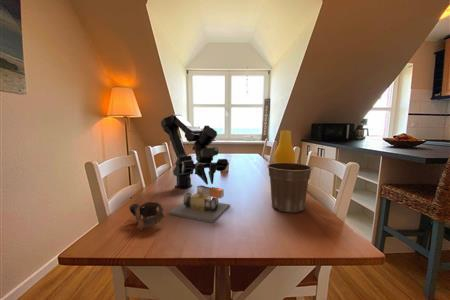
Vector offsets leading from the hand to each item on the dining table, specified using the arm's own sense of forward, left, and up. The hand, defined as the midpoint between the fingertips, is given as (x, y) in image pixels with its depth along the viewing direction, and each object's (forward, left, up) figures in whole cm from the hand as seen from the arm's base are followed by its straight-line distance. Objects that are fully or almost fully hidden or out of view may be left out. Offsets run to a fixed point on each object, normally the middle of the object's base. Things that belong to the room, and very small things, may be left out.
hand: (209, 183), depth 82 cm
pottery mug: (-9, -23, -9) cm, 26 cm away
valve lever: (+4, -7, -2) cm, 8 cm away
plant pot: (+28, +12, -8) cm, 31 cm away
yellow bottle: (+23, +28, -8) cm, 37 cm away
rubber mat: (0, -6, -8) cm, 11 cm away
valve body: (0, -6, -8) cm, 11 cm away
